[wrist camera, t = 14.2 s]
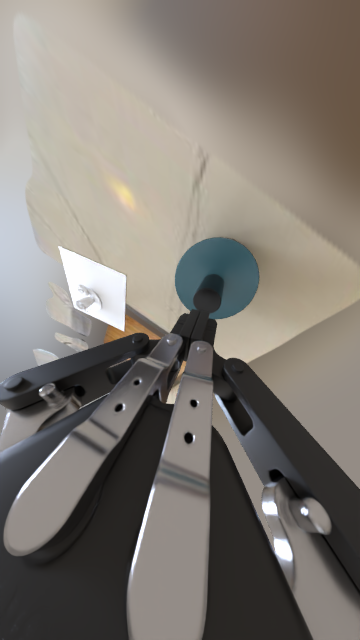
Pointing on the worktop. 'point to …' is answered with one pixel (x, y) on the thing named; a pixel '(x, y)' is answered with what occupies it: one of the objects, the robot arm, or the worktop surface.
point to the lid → (217, 277)
